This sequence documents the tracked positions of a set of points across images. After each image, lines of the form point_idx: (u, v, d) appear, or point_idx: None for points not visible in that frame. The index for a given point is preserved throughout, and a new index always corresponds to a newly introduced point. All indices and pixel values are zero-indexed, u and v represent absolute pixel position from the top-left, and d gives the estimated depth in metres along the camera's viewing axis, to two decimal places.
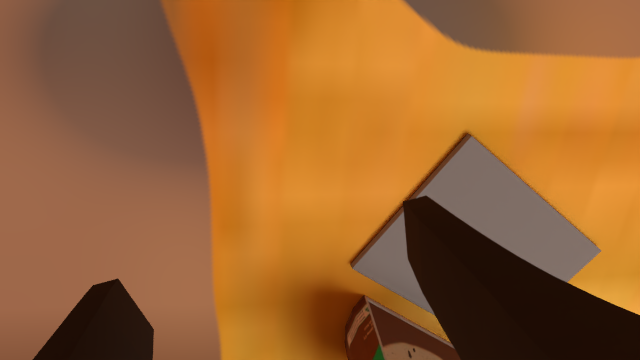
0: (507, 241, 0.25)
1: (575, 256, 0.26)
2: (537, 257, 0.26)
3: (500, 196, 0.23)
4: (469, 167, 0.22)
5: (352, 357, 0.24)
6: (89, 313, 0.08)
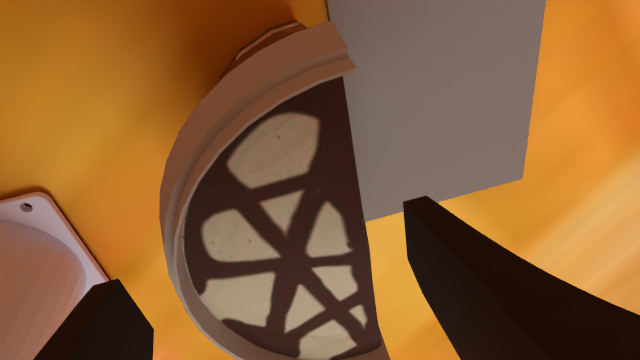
0: (475, 86, 0.20)
1: (503, 166, 0.23)
2: (479, 135, 0.22)
3: (515, 16, 0.18)
4: None
5: (240, 60, 0.15)
6: (89, 312, 0.08)
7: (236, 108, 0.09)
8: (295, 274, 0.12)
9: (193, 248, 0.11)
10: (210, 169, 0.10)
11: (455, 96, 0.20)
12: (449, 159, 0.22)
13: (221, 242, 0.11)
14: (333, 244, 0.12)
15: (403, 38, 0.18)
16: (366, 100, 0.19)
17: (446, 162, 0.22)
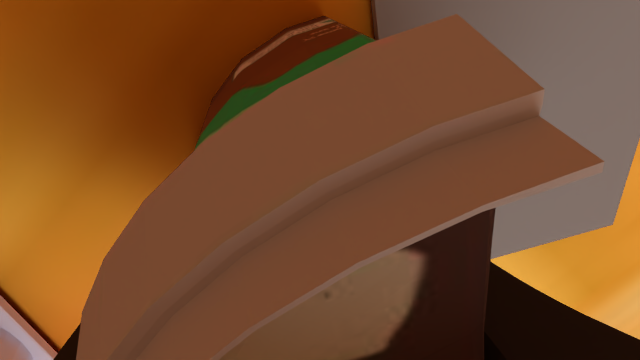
0: (570, 108, 0.14)
1: (591, 210, 0.17)
2: None
3: None
4: None
5: (239, 80, 0.09)
6: None
7: (221, 256, 0.03)
8: None
9: None
10: None
11: None
12: (524, 203, 0.16)
13: None
14: None
15: None
16: None
17: (519, 207, 0.16)
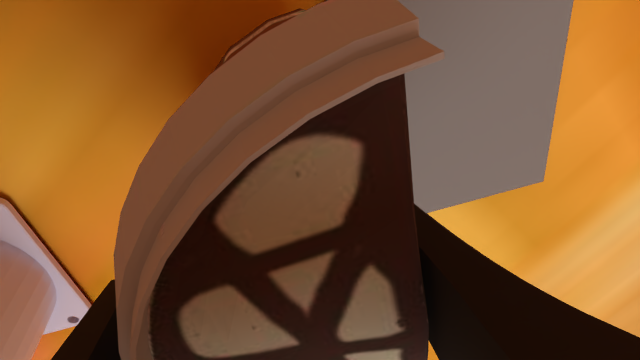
0: (494, 77, 0.17)
1: (522, 167, 0.21)
2: (496, 133, 0.19)
3: None
4: None
5: None
6: (109, 307, 0.08)
7: (227, 131, 0.05)
8: None
9: (167, 344, 0.07)
10: (187, 230, 0.06)
11: (470, 88, 0.18)
12: (463, 159, 0.20)
13: (211, 332, 0.07)
14: (377, 323, 0.08)
15: None
16: None
17: (459, 163, 0.20)
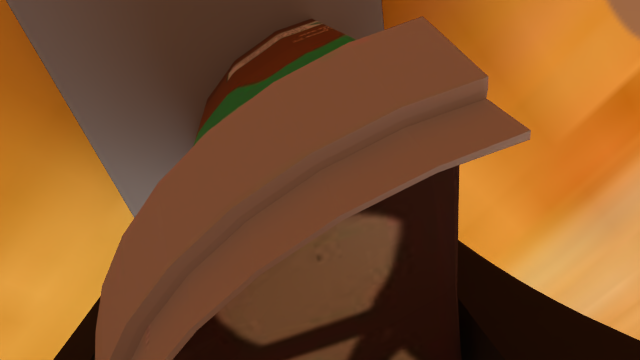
0: None
1: None
2: None
3: None
4: None
5: (234, 80, 0.10)
6: None
7: (230, 220, 0.04)
8: None
9: None
10: None
11: None
12: None
13: None
14: None
15: (179, 103, 0.13)
16: (150, 182, 0.14)
17: None
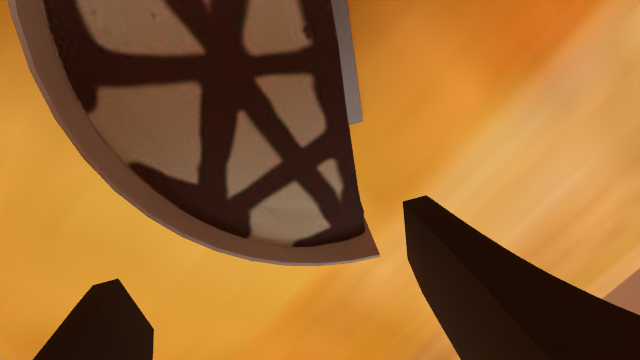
0: None
1: None
2: None
3: None
4: None
5: None
6: (89, 313, 0.08)
7: None
8: (232, 89, 0.08)
9: (63, 18, 0.07)
10: None
11: None
12: None
13: (109, 12, 0.07)
14: (282, 29, 0.08)
15: None
16: None
17: None
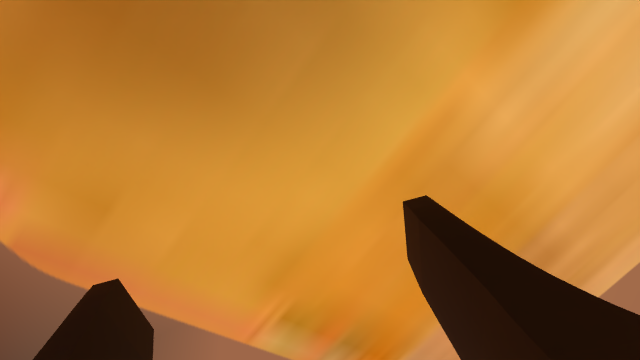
0: None
1: None
2: None
3: None
4: None
5: None
6: (89, 313, 0.08)
7: None
8: None
9: None
10: None
11: None
12: None
13: None
14: None
15: None
16: None
17: None
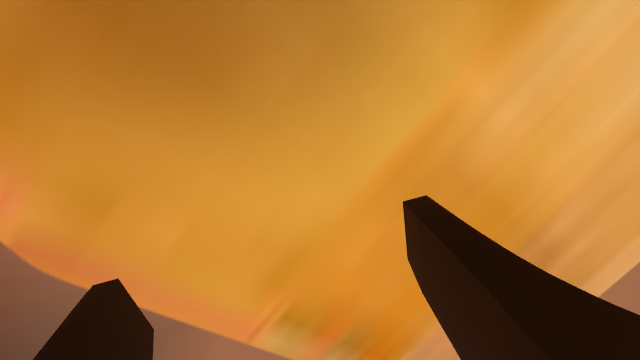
0: None
1: None
2: None
3: None
4: None
5: None
6: (89, 312, 0.08)
7: None
8: None
9: None
10: None
11: None
12: None
13: None
14: None
15: None
16: None
17: None
